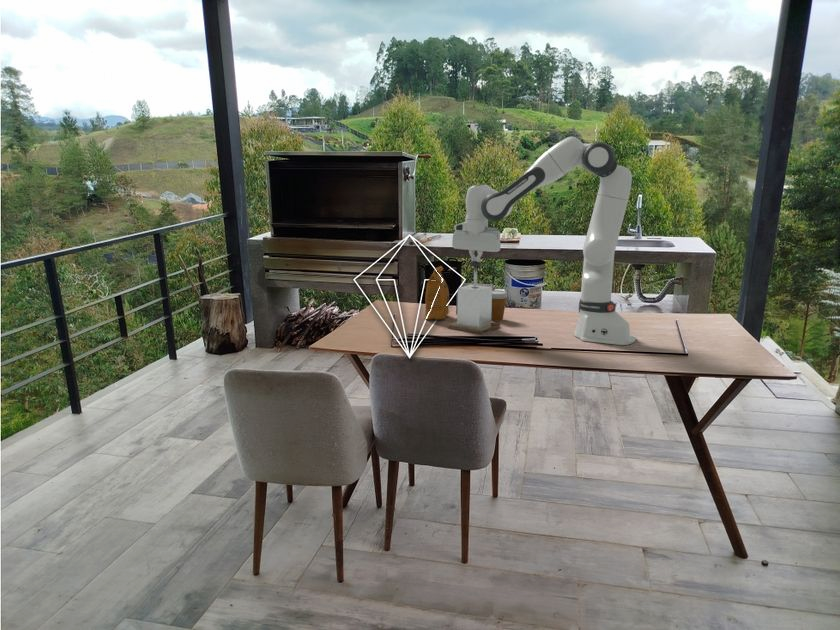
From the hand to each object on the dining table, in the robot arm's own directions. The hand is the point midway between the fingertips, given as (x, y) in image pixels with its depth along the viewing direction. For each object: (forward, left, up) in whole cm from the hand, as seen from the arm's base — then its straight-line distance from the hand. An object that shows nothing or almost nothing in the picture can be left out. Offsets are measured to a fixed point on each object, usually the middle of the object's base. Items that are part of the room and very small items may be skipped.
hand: (475, 261), depth 238 cm
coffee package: (+22, -6, -27) cm, 35 cm away
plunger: (0, 0, -18) cm, 18 cm away
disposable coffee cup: (0, -18, -27) cm, 32 cm away
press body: (0, 0, -27) cm, 27 cm away
